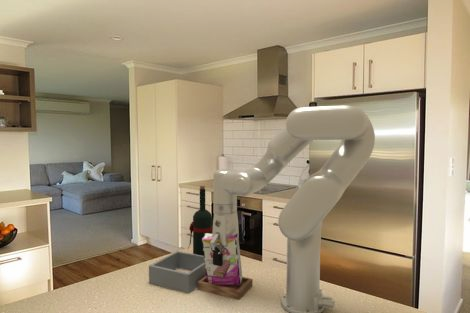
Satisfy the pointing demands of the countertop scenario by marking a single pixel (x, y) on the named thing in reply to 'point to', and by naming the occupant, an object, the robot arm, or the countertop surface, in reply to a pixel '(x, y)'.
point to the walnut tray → (226, 288)
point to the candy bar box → (231, 262)
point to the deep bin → (177, 280)
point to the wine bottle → (200, 224)
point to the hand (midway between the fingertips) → (225, 260)
